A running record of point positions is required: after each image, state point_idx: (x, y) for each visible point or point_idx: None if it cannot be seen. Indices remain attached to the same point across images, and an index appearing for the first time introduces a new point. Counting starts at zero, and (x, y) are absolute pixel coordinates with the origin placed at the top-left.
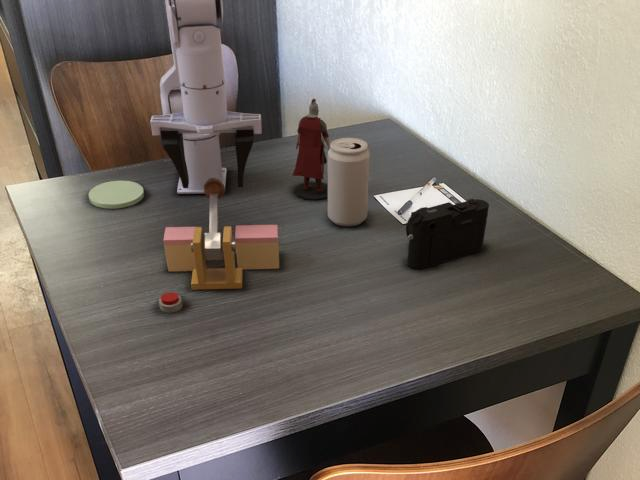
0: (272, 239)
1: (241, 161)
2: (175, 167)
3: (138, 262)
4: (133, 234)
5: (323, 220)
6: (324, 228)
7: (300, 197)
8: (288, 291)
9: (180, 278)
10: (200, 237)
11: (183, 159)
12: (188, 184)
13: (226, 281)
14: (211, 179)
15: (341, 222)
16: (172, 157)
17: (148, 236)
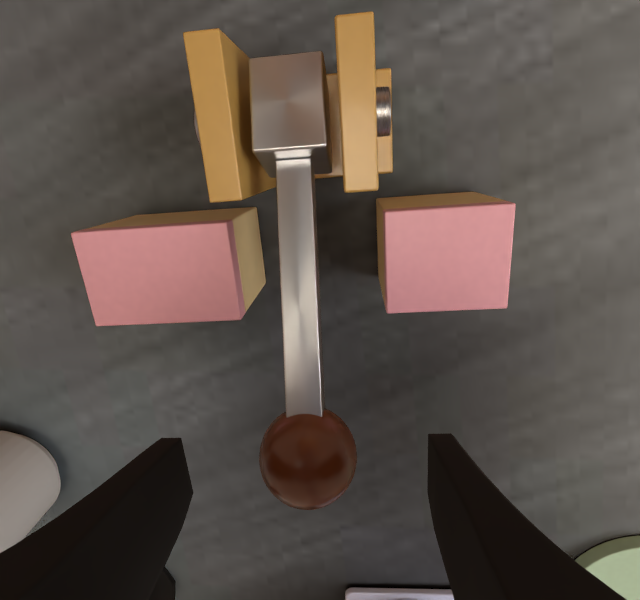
0: (94, 230)
1: (54, 539)
2: (524, 516)
3: (573, 249)
4: (588, 407)
5: (77, 461)
6: (65, 425)
7: None
8: (81, 76)
9: (432, 151)
10: (338, 77)
11: (472, 592)
12: (428, 465)
13: None
14: (309, 486)
15: (10, 435)
16: (578, 579)
17: (542, 396)
